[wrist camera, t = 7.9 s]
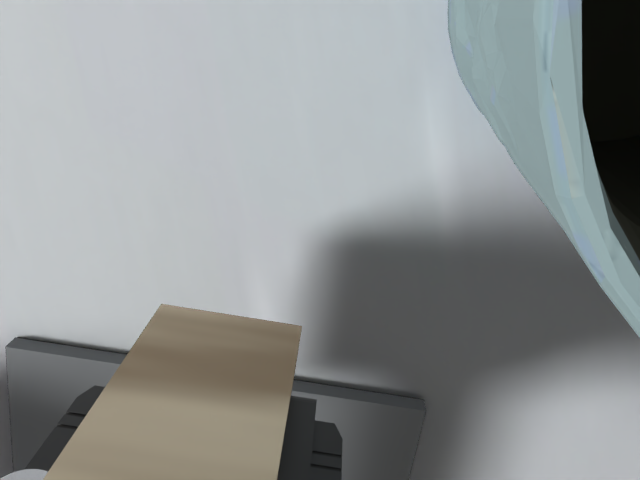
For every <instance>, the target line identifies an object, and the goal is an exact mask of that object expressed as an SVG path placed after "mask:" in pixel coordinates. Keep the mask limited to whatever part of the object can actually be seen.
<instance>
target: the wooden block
mask: <svg viewBox="0 0 640 480" xmlns="http://www.w3.org/2000/svg"><path fill="white" fill-rule="evenodd" d="M301 329H302V326H298V325H292V324H286V323H279V322H273V321H267V320H260V319H254V318H248V317H241V316H235V315H229V314H222V313H216V312H210V311H203V310H197V309H191V308H184V307H178V306H171V305H165V304H161V305H160V307H159V308H158V310H157V311H156V313H155V314H154V316H153V317H152V319H151V320H150V322H149V323H148V324H147V326H146V327H145V329H144V330H143V332H142V333H141V335H140V336H139V338H138V339H137V341H136V342H135V344H134V345H133V347H132V348H131V350H130V351H129V353H128V354H127V356H126V357H125V359H124V360H123V362H122V363H121V365H120V366H119V367H118V369H117V370H116V372H115V373H114V375H113V376H112V378H111V379H110V381H109V382H108V384H107V385H106V387H105V388H104V390H103V391H102V393H101V394H100V396H99V397H98V399H97V400H96V402H95V403H94V405H93V406H92V408H91V409H90V410H89V412H88V413H87V415H86V416H85V418H84V419H83V421H82V422H81V424H80V425H79V427H78V428H77V430H76V431H75V433H74V434H73V436H72V437H71V439H70V440H69V442H68V443H67V445H66V446H65V448H64V449H63V451H62V452H61V454H60V455H59V456H58V458H57V459H56V461H55V462H54V464H53V465H52V467H51V468H50V470H49V471H48V473H47V474H46V476H45V477H44V479H43V480H277V477H278V471H279V465H280V459H281V453H282V447H283V441H284V434H285V428H286V422H287V416H288V410H289V404H290V398H291V393H292V387H293V380H294V374H295V367H296V361H297V355H298V348H299V342H300V335H301Z"/></svg>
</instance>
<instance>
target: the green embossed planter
mask: <svg viewBox="0 0 640 480" xmlns="http://www.w3.org/2000/svg"><path fill="white" fill-rule="evenodd" d="M448 30H449V37H450V43H451V49H452V54H453V57H454V60H455V63H456V66H457V70H458V73H459V76H460V78H461V80H462V82H463V84H464V86H465V87H466V89H467V91H468V93H469V94H470V96H471V98H472V99H473V101H474V103H475V104H476V106H477V108H478V109H479V111H480V112H481V113H482V114H483V115H484V116H485V118H486V119H487V120H488V122H489V124H490V126H491V127H492V129H493V131H494V132H495V134H496V136H497V137H498V139H499V140H500V142H501V143H502V144H503V145H504V146H505V147H506V149H507V152H508V153H509V155H510V157H511V158H512V160H513V162H514V164H515V165H516V166H517V168H518V169H519V171H520V172H521V174H522V175H523V176H524V178H525V179H526V181H527V182H528V183H529V185H530V186H531V187H532V189H533V190H534V191H535V193H536V194H537V195H538V197H539V198H540V199H541V201H542V202H543V203H544V205H545V206H546V207H547V209H548V210H549V211H550V213H551V214H552V216H553V217H554V218H555V220H556V221H557V222H558V223H559V225H560V226H561V228H562V229H563V230H564V232H565V233H566V235H567V236H568V238H569V240H570V241H571V243H572V244H573V246H574V247H575V249H576V250H577V252H578V253H579V255H580V256H581V258H582V259H583V261H584V262H585V264H586V266H587V267H588V269H589V270H590V272H591V273H592V275H593V276H594V278H595V279H596V281H597V282H598V284H599V285H600V287H601V288H602V289H603V291H604V292H605V293H606V295H607V296H608V297H609V299H610V300H611V301H612V302H613V304H614V305H615V306H616V308H617V309H618V310H619V312H620V313H621V314H622V315H623V317H624V318H625V319H626V321H627V322H628V323H629V325H630V326H631V327H632V329H633V330H634V331H635V332H636V334H637V335H638V336H639V338H640V0H448Z"/></svg>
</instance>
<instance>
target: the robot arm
mask: <svg viewBox="0 0 640 480" xmlns="http://www.w3.org/2000/svg"><path fill="white" fill-rule="evenodd" d="M104 388H105V387H102V386H96V385H95V386H93V387H91V388H90V389H88V390H87V391H85V392H84V393H82V394H81V395H79V396H78V397H77V398H76V399H75V400H74V402H73V403H72V404H71V406H70V407H69V409H68V410H67V411H66V414H65V415H63V417H62V418H61V419H60V421H59V422H58V424H57V427H55V428H54V429H53V430H52V432H51V433H50V435H49V436H48V437H47V439H46V440H45V441H44V443H43V444H42V445H41V447H40V448H39V450H38V451H37V452H36V454H35V455H34V456H33V458H32V459H31V461H30V462H29V463H28V465H27V466H26V467H25V469H24V470H20V471H16V472H13V473H10V474H8V475H6V476H4V477H2V478H0V480H43V479H44V477H45V476H46V474H47V473H48V471H49V470H50V468H51V467H52V465H53V464H54V462H55V461H56V459H57V458H58V456H59V455H60V454H61V452H62V451H63V449H64V448H65V446H66V445H67V443H68V442H69V440H70V439H71V437H72V436H73V434H74V433H75V431H76V430H77V428H78V427H79V425H80V424H81V422H82V421H83V419H84V418H85V416H86V415H87V413H88V412H89V410H90V409H91V408H92V406H93V405H94V403H95V402H96V400H97V399H98V397H99V396H100V394H101V393H102V391H103V390H104ZM316 403H317V399H311V398H305V397H298V396H292V395H291V398H290V404H289V410H288V416H287V422H286V428H285V434H284V441H283V447H282V453H281V459H280V465H279V471H278V477H277V480H342V472H341V471H342V443H343V439H342V437H341V435H340V433H339V431H338V429H337V427H336V425H335V423H329V422H323V421H316V420H315V414H316Z"/></svg>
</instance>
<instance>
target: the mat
mask: <svg viewBox="0 0 640 480" xmlns="http://www.w3.org/2000/svg"><path fill="white" fill-rule="evenodd" d="M5 349H6V364H7V379H8V395H9V410H10V425H11V441H12V456H13V471H14V472H16V471H20V470H24V469H25V467H26V466H27V465H28V463H29V462H30V461H31V459H32V458H33V456H34V455H35V454H36V452H37V451H38V450H39V448H40V447H41V445H42V444H43V443H44V441H45V440H46V439H47V437H48V436H49V435H50V433H51V432H52V430H53V429H54V428H55V427H57V424H58V422H59V421H60V419H61V418H62V417H63V415H65V414H66V411H67V410H68V409H69V407H70V406H71V404H72V403H73V402H74V400H75V399H76V398H77V397H78V396H79V395H81V394H82V393H84V392H85V391H87V390H88V389H90V388H91V387H93V386H95V385H96V386H102V387H106V385H107V384H108V382H109V381H110V379H111V378H112V376H113V375H114V373H115V372H116V370H117V369H118V367H119V366H120V365H121V363H122V362H123V360H124V359H125V357H126V356H127V354H120V353H113V352H107V351H100V350H94V349H87V348H81V347H74V346H68V345H61V344H54V343H48V342H41V341H35V340H28V339H22V338H14V339H13V340H12V341H11V342H10V343H9V344H8V345H7V346H6V347H5ZM291 395H292V396H298V397H305V398H311V399H317V403H316V414H315V420H316V421H323V422H329V423H335V425H336V427H337V429H338V431H339V433H340V435H341V437H342V439H343V443H342V471H341V472H342V480H409V476H410V472H411V468H412V464H413V460H414V456H415V453H416V449H417V445H418V441H419V437H420V433H421V429H422V425H423V421H424V417H425V413H426V408H425V403H424V400H422V399H415V398H409V397H402V396H396V395H389V394H383V393H376V392H369V391H363V390H356V389H350V388H343V387H337V386H330V385H323V384H317V383H310V382H304V381H297V380H293V387H292V393H291Z"/></svg>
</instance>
